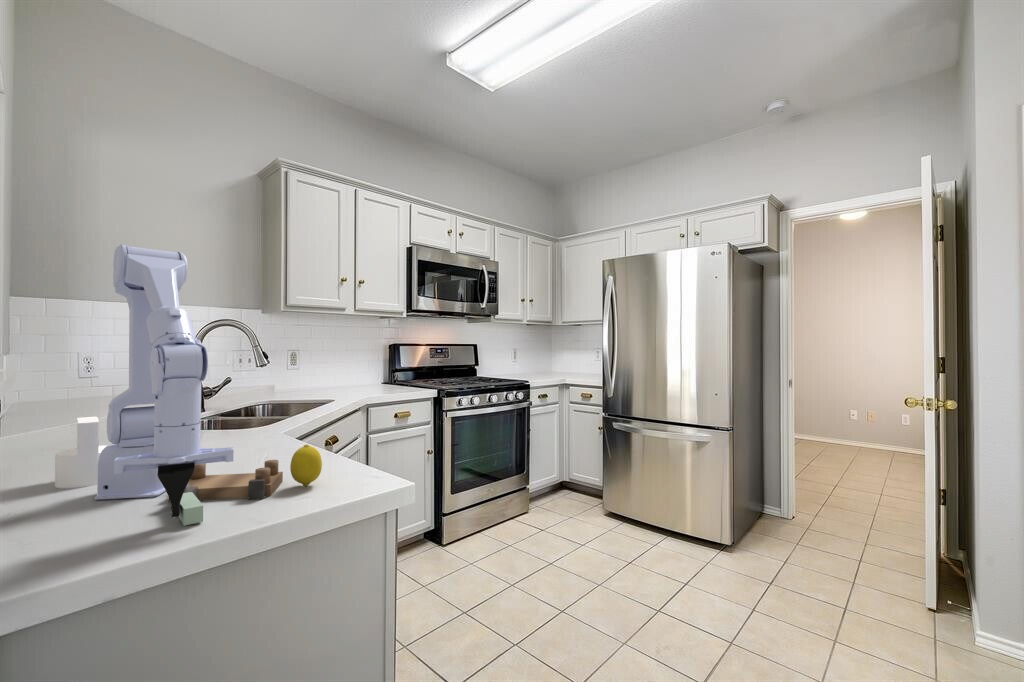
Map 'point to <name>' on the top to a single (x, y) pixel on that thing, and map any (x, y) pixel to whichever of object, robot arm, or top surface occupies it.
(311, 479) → the lemon
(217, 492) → the stool seat
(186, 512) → the pale green bar
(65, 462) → the base with upright slab
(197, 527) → the top surface
